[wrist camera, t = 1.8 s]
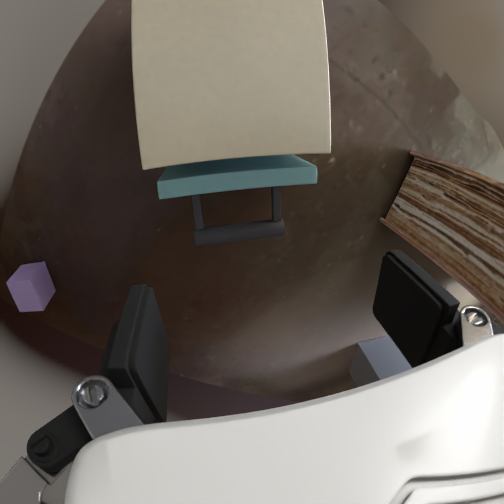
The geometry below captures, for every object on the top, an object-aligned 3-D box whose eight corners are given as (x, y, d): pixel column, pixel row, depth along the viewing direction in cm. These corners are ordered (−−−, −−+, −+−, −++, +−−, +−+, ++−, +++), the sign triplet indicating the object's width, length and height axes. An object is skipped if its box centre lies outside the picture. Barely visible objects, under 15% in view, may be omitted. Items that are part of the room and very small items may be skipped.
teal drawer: (287, 213, 28) (315, 248, 21) (178, 225, 27) (171, 266, 20) (279, 34, 20) (309, 7, 13) (160, 41, 19) (143, 13, 12)
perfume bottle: (382, 362, 44) (430, 441, 28) (348, 371, 43) (393, 459, 27) (393, 334, 41) (452, 418, 25) (357, 342, 40) (413, 438, 24)
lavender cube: (32, 292, 28) (19, 312, 24) (21, 264, 26) (5, 282, 23) (56, 290, 28) (43, 310, 25) (44, 261, 27) (29, 279, 23)
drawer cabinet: (289, 139, 26) (331, 153, 17) (163, 151, 24) (142, 170, 16) (281, 8, 19) (318, -33, 11) (154, 15, 18) (132, -28, 10)
